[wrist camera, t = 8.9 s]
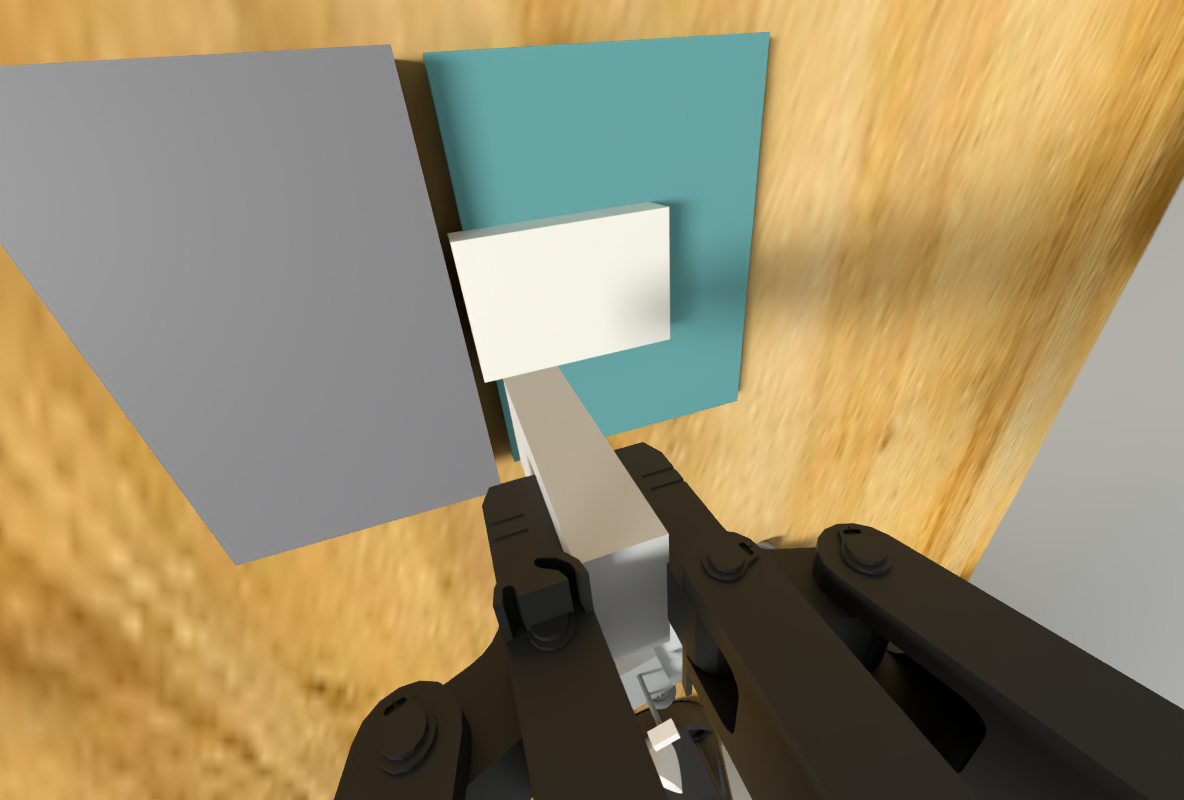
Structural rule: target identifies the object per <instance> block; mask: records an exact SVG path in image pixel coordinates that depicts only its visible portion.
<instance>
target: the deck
mask: <svg viewBox="0 0 1184 800" xmlns="http://www.w3.org/2000/svg"><path fill="white" fill-rule="evenodd" d="M0 244H1V245H2V247H3V248H4V249H5V251H6V252H7V253H8V255H9V256H10V258H11V259H12V260H13V262H14V263H15V264H16V266H17V267H18V269H19V270H20V271H21V273H22V274H23V275H24V277H25V278H26V279H27V281H28V282H29V284H30V285H31V286H32V288H33V289H34V290H35V292H36V293H37V294H38V296H39V297H40V299H41V300H42V301H43V303H44V304H45V305H46V307H47V308H48V310H49V311H50V312H51V314H52V315H53V316H54V318H55V319H56V320H57V322H58V323H59V325H60V326H61V327H62V329H63V330H64V331H65V333H66V334H67V335H68V337H69V338H70V340H71V341H72V342H73V344H74V345H75V346H76V348H77V349H78V351H79V352H80V353H81V355H82V356H83V357H84V359H85V360H86V361H87V363H88V364H89V366H90V367H91V368H92V370H93V371H94V372H95V374H96V375H97V376H98V378H99V379H100V381H101V382H102V383H103V385H104V386H105V387H106V389H107V390H108V392H109V393H110V394H111V396H112V397H113V398H114V400H115V401H116V402H117V404H118V405H119V407H120V408H121V409H122V411H123V412H124V413H125V415H126V416H127V417H128V419H129V420H130V422H131V423H132V424H133V426H134V427H135V428H136V430H137V431H138V433H139V434H140V435H141V437H142V438H143V439H144V441H145V442H146V443H147V445H148V446H149V448H150V449H151V450H152V452H153V453H154V454H155V456H156V457H157V458H158V460H159V461H160V463H161V464H162V465H163V467H164V468H165V469H166V471H167V472H168V474H169V475H170V476H171V478H172V479H173V480H174V482H175V483H176V484H177V486H178V487H179V489H180V490H181V491H182V493H183V494H184V495H185V497H186V498H187V499H188V501H189V502H190V504H191V505H192V506H193V508H194V509H195V510H196V512H197V513H198V515H199V516H200V517H201V519H202V520H203V521H204V523H205V524H206V525H207V527H208V528H209V530H210V531H211V532H212V534H213V535H214V536H215V538H216V539H217V540H218V542H219V543H220V545H221V546H222V547H223V549H224V550H225V551H226V553H227V554H228V555H229V557H230V558H231V560H232V561H233V562H234V564H235V565H240V564H243V563H247V562H250V561H254V560H257V559H261V558H264V557H268V556H272V555H275V554H279V553H282V552H286V551H289V550H293V549H296V548H300V547H303V546H307V545H310V544H314V543H317V542H321V541H324V540H328V539H331V538H335V537H338V536H342V535H345V534H349V533H352V532H356V531H359V530H363V529H366V528H370V527H373V526H377V525H380V524H384V523H387V522H391V521H394V520H398V519H401V518H405V517H408V516H412V515H415V514H419V513H422V512H426V511H429V510H433V509H436V508H440V507H443V506H447V505H450V504H454V503H457V502H461V501H464V500H468V499H471V498H475V497H478V496H482V495H485V494H487V491H488V489H489V487H492V486H495V485H499V484H501V483H500V479H499V475H498V471H497V467H496V463H495V459H494V455H493V451H492V447H491V443H490V439H489V435H488V431H487V427H486V423H485V419H484V415H483V411H482V407H481V403H480V399H479V395H478V391H477V387H476V383H475V379H474V375H473V371H472V367H471V363H470V359H469V355H468V351H467V347H466V343H465V339H464V335H463V331H462V327H461V323H460V320H459V316H458V312H457V308H456V304H455V300H454V296H453V292H452V288H451V284H450V280H449V276H448V272H447V268H446V264H445V260H444V256H443V252H442V248H441V244H440V240H439V236H438V232H437V228H436V224H435V220H434V216H433V212H432V208H431V204H430V200H429V196H428V192H427V188H426V184H425V180H424V176H423V172H422V168H421V164H420V160H419V156H418V152H417V148H416V144H415V140H414V136H413V132H412V128H411V124H410V120H409V116H408V112H407V108H406V104H405V100H404V96H403V92H402V88H401V84H400V80H399V76H398V73H397V69H396V65H395V61H394V57H393V53H392V49H391V45H372V46H354V47H336V48H318V49H300V50H282V51H264V52H245V53H227V54H209V55H191V56H173V57H155V58H137V59H119V60H101V61H83V62H65V63H47V64H29V65H11V66H0Z"/></svg>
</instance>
